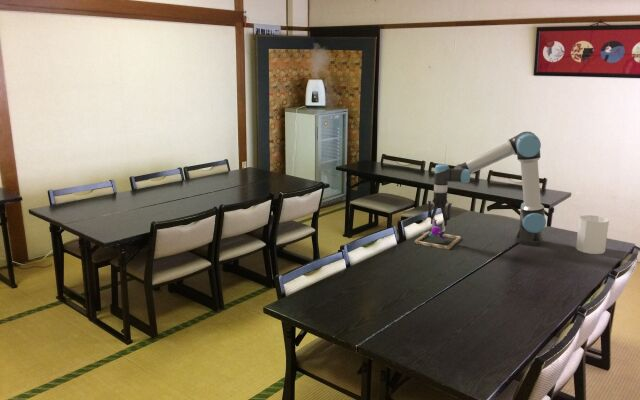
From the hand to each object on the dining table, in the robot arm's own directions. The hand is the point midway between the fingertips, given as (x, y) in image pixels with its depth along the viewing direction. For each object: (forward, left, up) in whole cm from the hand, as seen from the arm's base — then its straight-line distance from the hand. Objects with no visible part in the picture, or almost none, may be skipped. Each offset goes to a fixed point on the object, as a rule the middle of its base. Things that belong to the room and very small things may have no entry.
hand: (438, 230), depth 310 cm
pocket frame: (+1, 0, -7) cm, 7 cm away
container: (-77, -30, -7) cm, 83 cm away
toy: (0, +2, -4) cm, 4 cm away
